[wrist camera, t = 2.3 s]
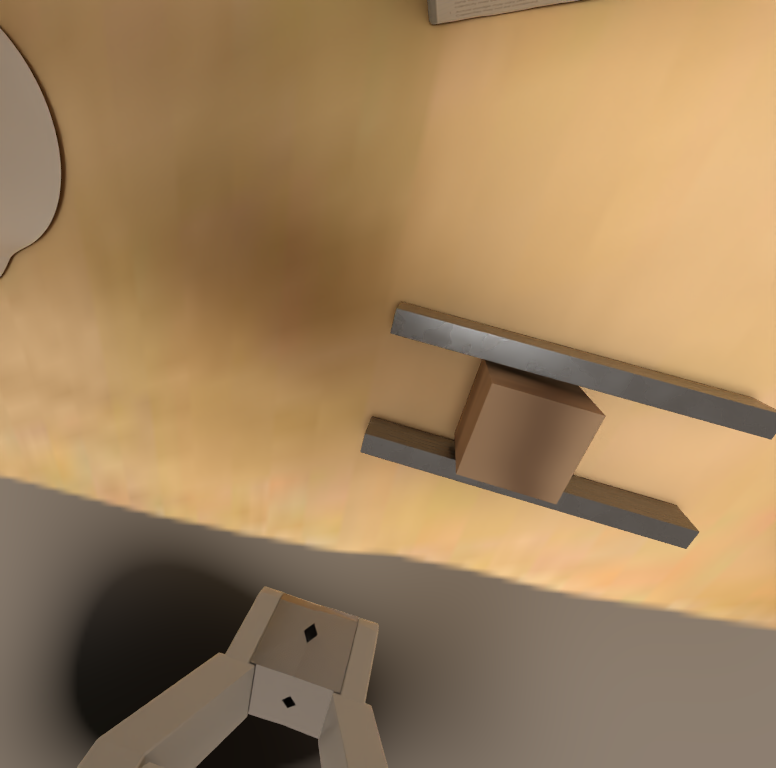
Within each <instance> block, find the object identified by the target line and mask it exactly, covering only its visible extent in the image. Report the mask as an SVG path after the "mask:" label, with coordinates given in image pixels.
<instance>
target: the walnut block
mask: <svg viewBox="0 0 776 768" xmlns="http://www.w3.org/2000/svg"><path fill="white" fill-rule="evenodd" d="M604 418H605V415H604V414H603V413H602V412H601V410H600V409H599V408H598V407H597V406H596V405H595V404H594V403H593V402H592V400H591V399H590V398H589V397H588V396H587V395H586V394H585V393H584V392H583V390H582V389H581V388H580V387H579V386H578V385H574V384H571V383H567V382H563V381H560V380H556V379H553V378H549V377H545V376H542V375H538V374H535V373H531V372H527V371H524V370H520V369H517V368H513V367H510V366H506V365H502V364H499V363H495V362H492V361H488V360H484V359H482V362H481V365H480V367H479V370H478V373H477V375H476V378H475V381H474V383H473V386H472V389H471V391H470V394H469V397H468V399H467V402H466V405H465V407H464V410H463V413H462V415H461V418H460V421H459V423H458V426H457V429H456V431H455V459H456V474H457V475H461V476H464V477H467V478H471V479H474V480H477V481H480V482H484V483H487V484H490V485H494V486H497V487H500V488H504V489H507V490H510V491H513V492H517V493H520V494H523V495H527V496H530V497H533V498H536V499H540V500H543V501H546V502H550V503H553V504H557V502H558V500H559V499H560V497H561V495H562V493H563V491H564V490H565V488H566V486H567V484H568V483H569V481H570V479H571V477H572V475H573V474H574V472H575V470H576V468H577V466H578V465H579V463H580V461H581V459H582V457H583V456H584V454H585V452H586V450H587V448H588V447H589V445H590V443H591V441H592V439H593V438H594V436H595V434H596V432H597V430H598V429H599V427H600V425H601V423H602V421H603V420H604Z"/></svg>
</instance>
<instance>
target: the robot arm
mask: <svg viewBox="0 0 776 768" xmlns="http://www.w3.org/2000/svg"><path fill="white" fill-rule="evenodd" d="M60 186H61V163H60V153H59V147H58V141H57V137H56V132H55V128H54V125H53V121H52V118H51V115H50V112H49V109H48V107H47V104H46V102H45V99H44V97H43V94H42V92H41V90H40V88H39V86H38V84H37V82H36V80H35V78H34V76H33V74H32V72H31V71H30V69H29V67H28V65H27V64H26V62H25V61H24V59H23V57H22V56H21V54H20V53H19V51H18V50H17V49H16V47H15V46H14V44H13V43H12V42H11V41H10V39H9V38H8V37H7V36H6V34H5V33H4V32H3V31H2V30H1V29H0V276H1V275H2V273H3V272H4V270H5V268H6V266H7V264H8V262H9V260H10V257H11V256H12V255H13V254H15V253H16V252H18V251H19V250H21V249H23V248H25V247H27V246H29V245H30V244H32V243H33V242H35V241H36V240H37V239H38V238H39V237H40V236H41V235H42V234H43V233H44V232H45V230H46V229H47V228H48V226H49V224H50V222H51V221H52V218H53V216H54V214H55V211H56V208H57V204H58V200H59V195H60ZM378 630H379V626H378V624H377V623H374V622H371V621H368V620H365V619H361V618H359V617H357V616H354V615H351V614H348V613H344V612H341V611H338V610H335V609H332V608H328V607H325V606H320V605H317V604H315V603H311V602H308V601H305V600H303V599H300V598H297V597H294V596H291V595H288V594H285V593H284V592H281V591H277V590H274V589H271V588H268V587H264V588H263V589H262V590H261V591H260V593H259V594H258V596H257V598H256V600H255V602H254V603H253V605H252V607H251V609H250V611H249V612H248V614H247V616H246V618H245V620H244V621H243V623H242V625H241V627H240V629H239V631H238V632H237V634H236V636H235V638H234V639H233V641H232V643H231V645H230V647H229V648H228V650H227V652H226V654H222V653H218V654H217V655H215V656H214V657H212V658H211V659H209V660H208V661H207V662H205V663H204V664H203V665H201V666H200V667H198V668H197V669H195V670H194V671H193V672H191V673H190V674H188V675H187V676H186V677H184V678H183V679H181V680H180V681H179V682H177V683H176V684H174V685H173V686H171V687H170V688H169V689H167V690H166V691H165V692H163V693H162V694H160V695H159V696H157V697H156V698H155V699H153V700H152V701H150V702H149V703H148V704H146V705H145V706H143V707H142V708H141V709H139V710H138V711H136V712H135V713H133V714H132V715H131V716H129V717H128V718H126V719H125V720H124V721H122V722H121V723H119V724H118V725H116V726H115V727H114V728H112V729H111V730H109V731H108V732H107V733H105V734H104V735H102V736H101V737H100V738H98V739H97V740H96V742H95V743H94V745H93V746H92V747H91V749H90V750H89V752H88V753H87V754H86V756H85V757H84V759H83V760H82V761H81V763H80V764H79V765H78V767H77V768H195V767H196V766H197V765H198V764H199V763H200V762H201V761H202V760H203V759H204V758H205V757H206V756H207V755H208V754H209V753H210V752H211V751H212V750H213V749H215V748H216V746H218V745H219V744H220V743H221V742H222V740H224V739H225V738H226V737H227V736H228V735H229V733H231V732H232V731H233V730H234V729H235V728H236V727H237V726H238V725H239V724H240V723H241V722H242V721H243V720H244V719H245V718H246V717H247V714H251V715H254V716H257V717H260V718H263V719H266V720H269V721H273V722H276V723H279V724H282V725H285V726H287V727H290V728H292V729H295V730H298V731H300V732H303V733H305V734H308V735H310V736H313V737H315V738H318V739H319V741H318V744H319V752H320V759H321V768H388V765H387V762H386V758H385V754H384V751H383V747H382V744H381V740H380V736H379V733H378V729H377V725H376V722H375V718H374V715H373V711H372V707H371V705H368V704H366V703H365V700H366V694H367V689H368V683H369V678H370V673H371V668H372V663H373V657H374V652H375V647H376V641H377V636H378Z"/></svg>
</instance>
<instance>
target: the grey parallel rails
mask: <svg viewBox="0 0 776 768" xmlns="http://www.w3.org/2000/svg"><path fill="white" fill-rule="evenodd" d="M390 333H391V334H395V335H398V336H402V337H406V338H409V339H413V340H416V341H420V342H424V343H427V344H431V345H434V346H438V347H441V348H445V349H449V350H452V351H456V352H459V353H463V354H467V355H470V356H474V357H477V358H481V359H484V360H488V361H492V362H495V363H499V364H502V365H506V366H510V367H513V368H517V369H520V370H524V371H527V372H531V373H535V374H538V375H542V376H545V377H549V378H553V379H556V380H560V381H563V382H567V383H571V384H574V385H578V386H581V387H585V388H588V389H592V390H596V391H599V392H603V393H606V394H610V395H614V396H617V397H621V398H624V399H628V400H631V401H635V402H639V403H642V404H646V405H649V406H653V407H657V408H660V409H664V410H667V411H671V412H674V413H678V414H682V415H685V416H689V417H692V418H696V419H700V420H703V421H707V422H710V423H714V424H717V425H721V426H725V427H728V428H732V429H735V430H739V431H743V432H746V433H750V434H753V435H757V436H761V437H764V438H768V439H772V438H773V437H774V435H775V434H776V409H774V408H772V407H770V406H768V405H766V404H764V403H762V402H760V401H758V400H756V399H754V398H752V397H748V396H744V395H741V394H737V393H733V392H730V391H726V390H722V389H719V388H715V387H712V386H708V385H704V384H701V383H697V382H693V381H690V380H686V379H682V378H679V377H675V376H671V375H668V374H664V373H660V372H657V371H653V370H650V369H646V368H642V367H639V366H635V365H631V364H628V363H624V362H620V361H617V360H613V359H609V358H606V357H602V356H598V355H595V354H591V353H587V352H584V351H580V350H577V349H573V348H569V347H566V346H562V345H558V344H555V343H551V342H547V341H544V340H540V339H536V338H533V337H529V336H525V335H522V334H518V333H514V332H511V331H507V330H504V329H500V328H496V327H493V326H489V325H485V324H482V323H478V322H474V321H471V320H467V319H463V318H460V317H456V316H452V315H449V314H445V313H441V312H438V311H434V310H431V309H427V308H423V307H420V306H416V305H412V304H409V303H405V302H401V303H400V304H399V306H398V307H397V308H396V312H395V316H394V320H393V324H392V328H391V332H390ZM361 452H362V453H365V454H368V455H372V456H375V457H379V458H382V459H385V460H389V461H392V462H395V463H399V464H402V465H405V466H409V467H412V468H416V469H419V470H422V471H426V472H429V473H432V474H436V475H439V476H442V477H446V478H449V479H453V480H456V481H459V482H463V483H466V484H469V485H473V486H476V487H479V488H483V489H486V490H490V491H493V492H496V493H500V494H503V495H506V496H510V497H513V498H517V499H520V500H523V501H527V502H530V503H533V504H537V505H540V506H543V507H547V508H550V509H554V510H557V511H560V512H564V513H567V514H570V515H574V516H577V517H580V518H584V519H587V520H591V521H594V522H597V523H601V524H604V525H607V526H611V527H614V528H617V529H621V530H624V531H628V532H631V533H634V534H638V535H641V536H644V537H648V538H651V539H655V540H658V541H661V542H665V543H668V544H671V545H675V546H678V547H681V548H685V549H687V547H688V546H689V545H690V543H691V542H692V541H693V540H694V538H695V537H696V536H697V534H698V533H699V531H698V530H697V529H696V527H695V526H694V525H693V524H692V523H691V522H690V520H689V519H688V518H687V517H686V516H685V515H684V514H683V512H682V511H681V510H680V509H679V508H678V507H677V505H674V504H670V503H667V502H663V501H660V500H656V499H653V498H650V497H646V496H643V495H639V494H636V493H632V492H629V491H625V490H622V489H619V488H615V487H612V486H608V485H605V484H601V483H598V482H595V481H591V480H588V479H584V478H581V477H577V476H574V475H572V477H571V479H570V481H569V483H568V484H567V486H566V488H565V490H564V491H563V493H562V495H561V497H560V499H559V500H558V502H557V504H553V503H550V502H546V501H543V500H540V499H536V498H533V497H530V496H527V495H523V494H520V493H517V492H513V491H510V490H507V489H504V488H500V487H497V486H494V485H490V484H487V483H484V482H480V481H477V480H474V479H471V478H467V477H464V476H461V475H457V474H456V459H455V441H454V440H451V439H447V438H444V437H440V436H437V435H433V434H430V433H427V432H423V431H420V430H416V429H413V428H409V427H406V426H403V425H399V424H396V423H392V422H389V421H385V420H382V419H379V418H375V417H372V419H371V421H370V423H369V426H368V428H367V430H366V433H365V436H364V440H363V444H362V448H361Z"/></svg>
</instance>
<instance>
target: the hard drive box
mask: <svg viewBox="0 0 776 768" xmlns="http://www.w3.org/2000/svg"><path fill="white" fill-rule="evenodd" d="M427 1H428V14H429V22H430V23H431V24H440V23H446V22H452V21H458V20H463V19H468V18H474V17H480V16H491V15H496V14H502V13H508V12H514V11H520V10H525V9H530V8H534V7H540V6H546V5H552V4H558V3H565V2H572V1H578V0H427Z"/></svg>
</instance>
